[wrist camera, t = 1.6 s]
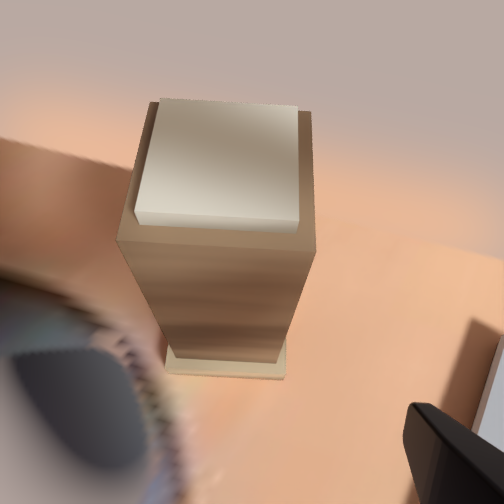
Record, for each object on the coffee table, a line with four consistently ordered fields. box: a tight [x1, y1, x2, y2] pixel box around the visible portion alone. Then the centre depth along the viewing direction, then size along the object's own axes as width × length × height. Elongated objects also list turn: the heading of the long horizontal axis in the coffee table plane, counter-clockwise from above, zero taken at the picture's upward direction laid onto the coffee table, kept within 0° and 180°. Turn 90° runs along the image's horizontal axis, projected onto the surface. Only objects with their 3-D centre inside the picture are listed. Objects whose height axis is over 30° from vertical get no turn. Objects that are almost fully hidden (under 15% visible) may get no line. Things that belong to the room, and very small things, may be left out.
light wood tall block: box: [116, 98, 316, 380], centre depth 17 cm, size 6×6×14 cm
